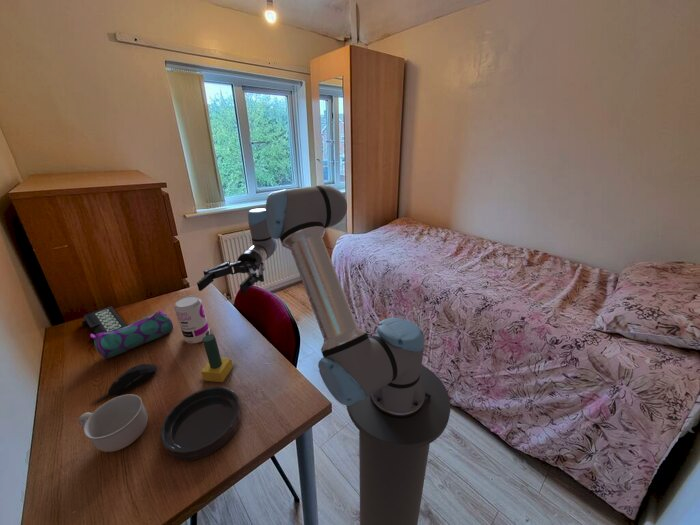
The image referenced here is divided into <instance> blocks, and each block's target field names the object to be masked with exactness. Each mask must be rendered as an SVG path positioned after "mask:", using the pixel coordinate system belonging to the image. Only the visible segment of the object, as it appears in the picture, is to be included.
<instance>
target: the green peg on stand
mask: <svg viewBox="0 0 700 525" xmlns="http://www.w3.org/2000/svg"><path fill="white" fill-rule="evenodd" d="M202 340H203V341H202V344H203V346H204V347H203V348H204V350H205V353H206V357H207V360H208V362H207V363H206V364H205V365H204V367H203V368H202V369H201V371H200V373H201V377H202V380H203V381H204V382H213V383H214V382H216V383H224V381H225V380H226V379H227V377H228V375H229V374H230V372H231V371H232V369H233V368H234V365H233V361H232V358H231V357H221V353H220V349H219V347H218V343H217V339H216V336H215V334H212V333H210V334H209V335H206V336H205V337H203V339H202Z"/></svg>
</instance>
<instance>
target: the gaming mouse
mask: <svg viewBox="0 0 700 525" xmlns="http://www.w3.org/2000/svg"><path fill="white" fill-rule="evenodd" d="M157 370H158V366H156V365H155V364H147V363H141V364H137V365H134V366H133V367H130V368H129V369H127V370H126V371H124V372H123V373H121V375H119V376H118V377H117V378H116V379H115V380H114V381H113V382H112V384H111V385H110V386H109V388H108V391H107V392H108V393H106V394H104V395H103V396H102V397H100V398H99V399H97V400H96V402H97V403H98V402H100V401H101V400H103V399H105V398H107V397H109V395H111V396H121V395H124V394H125V393H127V392H129V391H131V390H133V389H135V388H136V387H138V386H140V385H142V384H144V383H146V382H147V381H149V380H150V379H152V378H153V377H154V376H155V375H156V374H157Z"/></svg>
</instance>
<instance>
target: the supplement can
mask: <svg viewBox="0 0 700 525" xmlns="http://www.w3.org/2000/svg"><path fill="white" fill-rule="evenodd" d="M174 312H175V316H176V318H177V321H178V324H179V327H180V330H181V333H182V336H183V339H184V341H185V342H186V343H188V344H199V343H201V342H203V340H202V339H203V337H205V336H206V335H209V334H211V329H210V325H209V323H208V322H209V321H208V319H207V315H206V310H205V307H204V304H203V300H202V299H200V298H199V296H197V295H187V296H184V297H181V298H179V299H178V300H176V302H175V306H174Z"/></svg>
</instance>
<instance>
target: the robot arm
mask: <svg viewBox="0 0 700 525" xmlns="http://www.w3.org/2000/svg"><path fill="white" fill-rule="evenodd" d="M347 211H348V202H347V199H346V197H345V196H344V193H342V192H341V190H339V189H338V188H336V187H334V186H331V185H327V184H319V185H314V186H304V187H297V188H290V189H289V188H288V189H286V188H283V189H281V190H276V191H272V192H270V193H269V194H268V195H267V198H266V201H265V208H262V207H261V208H253V209H250V210H249V211H248V213H247V219H248V220H247V221H248V226H249V232H250V237H251V243H252V245H251V246H250V247H248V248H247V249H246V250H245V251H243V252H242V253H241V254H239V256H238V257H237V260H236V261H235V262H230V260H227V261H225V262H223V263H221V264H218V265H215V266H213V267H211V268H207V269H206V270H203V276H202V278H201V279H200V280H198V281H197V282H196V285H197V288H198V291H199V292H202V291H203V290H204V289H205V288H207V287H208V286H209V285H210V284H212V283H213V282H214V280H215V279H218V278H222V277H225V276H228V275H232V276H233V275H235V274H247V277H246V278H245V279H244V280H243V281H242V282H241V283H240V284H239V290H240V294H245V293H246V292H247V291H248V290H249V288H250V287H253V286H254V285H255V284H256V283H258V282H261V283H263V282H265V278H264V271H265V264H264V263H265V262H266V261H267V260H268V259H269V258H270V257H272V256H273V255H274V253H275V252H276V250H277V248H278V247H277V246H278V243H277V242H276V240H279V241H280V243H281V245H282V247H283V248H285V249H287V250H289V251H290V252H291V254H292V258H293V261H294V264H295V266H296V267H297V272H298V274H299V276H300V279H301V281H302V285H303V287H304V290H305V293H306V295H307V299H308V301H309V303H310V306H311V309H312V312H313V314H314V316H315V319H316V323H317V325H318V328H319V330H320V333H321V336H322V338H323V344H322V346H321V349H320V352H321V355H322V357H321V358H320V360H319V361H318V363H317V366H318V370H319V371H318V372H319V375H320V377H321V380H322V381H323V384H324V385H325V388H326V389H327V390H328V392H329V393H330V395H331V396H332V397H333V398H334V399H335V400H336V401H337V402H338V403H340V404H341V405H343V406H345V407H346V406H349V405H352V404H354V403H356V402H358V401H360V400H364V399H365V398H366V397H367V396H369V395H370V398H371V401H372V403H373V404H374V406H375V407H376V408H377V409H378V410H379V411H380V412H382V413H383V414H385V415H387V416H390V417H394V418H408V417H411V416H413V415H415V414H417V413H418V412H419V411H420V410H421V409H422V407H423V405H424V401H425V396H426V397H428V398H431V395H429V394H427V393H425V389H424V386H423V383H422V379H421V376H420V374H421V366H422V365H423V358H424V349H425V345H426V344H425V333H424V331H423V330H422V328H421V327H420V326H419V325H418V324H416V323H415V322H413V321H411V320H408V319H407V318H406V319H405V318H401V317H388V318H384V319H383V320H381V321H380V322H379V323H378V325H377V327H376V333H375V334H373V335H371V336H369V335H368V332H367V330H365V329H363V328H360V327H359V326H358V324H357V322H356V319H355V316H354V314H353V311H352V309H351V306H350V305H349V302H348V299H347V296H346V294H345V292H344V289H343V287H342V284H341V281H340V278H339V276H338V274H337V271H336V268H335V266H334V264H333V262H332V259H331V256H330V254H329V251H328V249H327V246H326V244H325V241H324V236H325V233H326V229H328V228H332V227H334V226H336V225H337V224H339V223H340V222H342V221H343V220H344V218H345V216H346V214H347ZM257 270H258V273H257V272H256V271H257Z"/></svg>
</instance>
